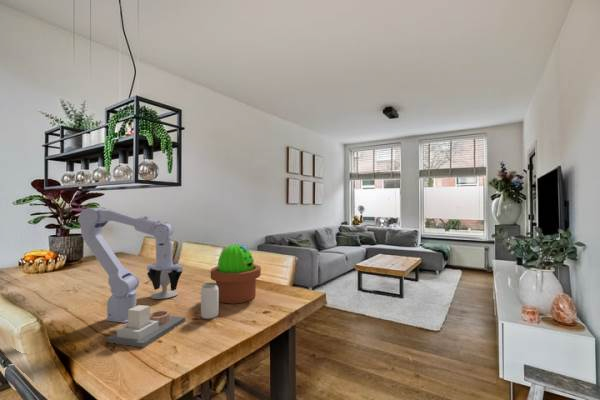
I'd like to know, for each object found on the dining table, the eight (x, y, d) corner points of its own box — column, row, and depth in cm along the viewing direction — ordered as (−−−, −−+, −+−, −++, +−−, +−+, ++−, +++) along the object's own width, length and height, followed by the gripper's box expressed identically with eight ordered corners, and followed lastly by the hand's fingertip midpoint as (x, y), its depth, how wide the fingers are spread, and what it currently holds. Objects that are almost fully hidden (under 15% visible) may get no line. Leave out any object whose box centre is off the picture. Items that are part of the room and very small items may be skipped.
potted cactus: (200, 301, 130) (200, 245, 130) (233, 287, 149) (233, 239, 149) (239, 309, 119) (239, 248, 119) (269, 294, 139) (269, 241, 139)
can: (212, 311, 117) (212, 281, 117) (221, 315, 113) (221, 284, 113) (197, 316, 112) (197, 285, 112) (207, 320, 108) (207, 288, 108)
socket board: (106, 342, 92) (106, 329, 92) (153, 317, 111) (153, 307, 111) (143, 348, 88) (143, 334, 88) (185, 321, 108) (185, 310, 108)
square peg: (128, 334, 94) (128, 309, 94) (138, 328, 98) (138, 304, 98) (139, 335, 93) (139, 310, 93) (149, 329, 97) (149, 306, 97)
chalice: (186, 293, 139) (186, 262, 139) (160, 302, 127) (159, 268, 127) (168, 289, 146) (168, 259, 147) (141, 297, 134) (141, 265, 134)
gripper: (140, 255, 110) (141, 291, 110) (173, 256, 107) (174, 293, 107) (154, 252, 117) (155, 286, 117) (185, 253, 113) (186, 287, 113)
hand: (165, 289), depth 112 cm, fingers open, 7 cm apart
